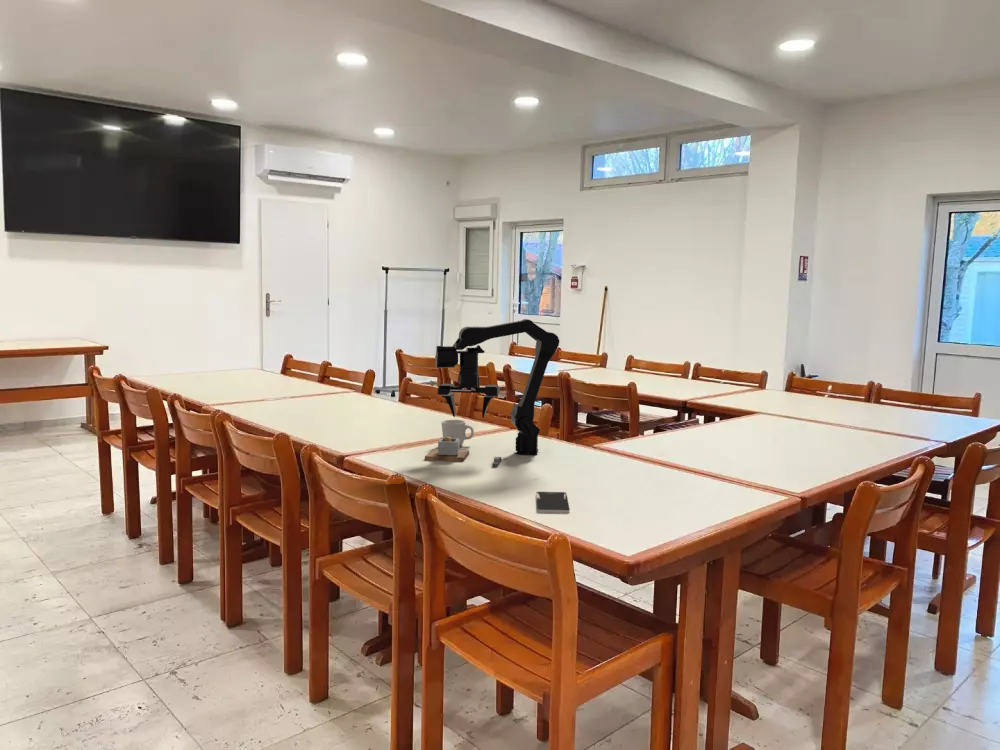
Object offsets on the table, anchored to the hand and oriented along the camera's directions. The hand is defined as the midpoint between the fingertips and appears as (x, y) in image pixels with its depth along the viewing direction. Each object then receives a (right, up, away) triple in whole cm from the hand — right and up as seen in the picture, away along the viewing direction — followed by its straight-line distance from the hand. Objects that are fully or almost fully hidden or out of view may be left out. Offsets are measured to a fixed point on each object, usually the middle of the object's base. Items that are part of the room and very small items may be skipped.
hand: (468, 417), depth 229 cm
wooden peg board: (-6, -12, -2) cm, 14 cm away
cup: (-4, -11, +15) cm, 19 cm away
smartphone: (+23, -19, -49) cm, 57 cm away
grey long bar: (+9, -13, -10) cm, 19 cm away
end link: (-6, -11, -3) cm, 13 cm away
